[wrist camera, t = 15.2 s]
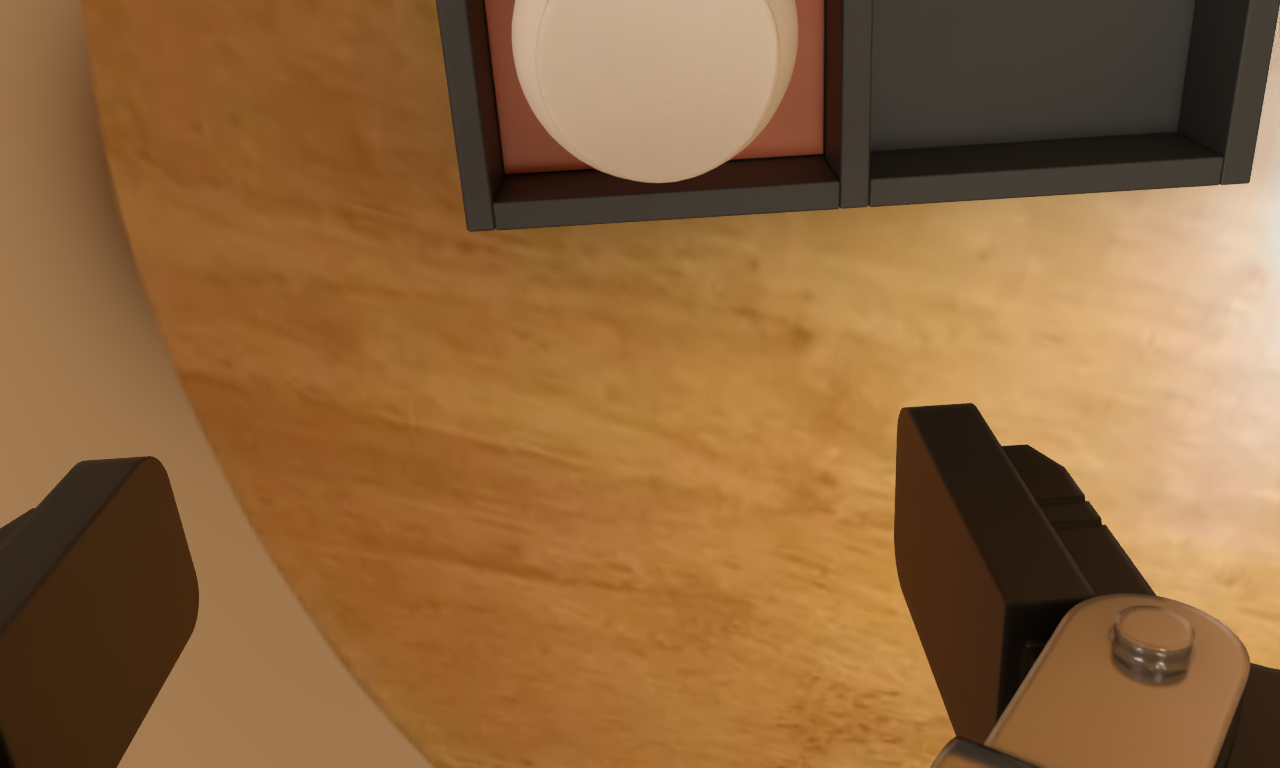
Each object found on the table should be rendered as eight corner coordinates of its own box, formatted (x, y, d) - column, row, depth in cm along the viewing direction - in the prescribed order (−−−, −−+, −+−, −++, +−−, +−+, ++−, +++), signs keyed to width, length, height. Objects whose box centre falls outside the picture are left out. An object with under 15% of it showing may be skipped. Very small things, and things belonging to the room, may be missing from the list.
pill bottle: (651, 154, 33) (656, 285, 23) (492, 0, 31) (422, 71, 21) (808, -6, 31) (888, 62, 21) (648, -180, 29) (652, -195, 19)
